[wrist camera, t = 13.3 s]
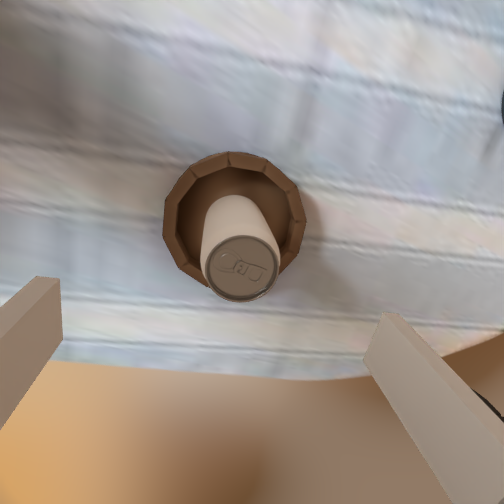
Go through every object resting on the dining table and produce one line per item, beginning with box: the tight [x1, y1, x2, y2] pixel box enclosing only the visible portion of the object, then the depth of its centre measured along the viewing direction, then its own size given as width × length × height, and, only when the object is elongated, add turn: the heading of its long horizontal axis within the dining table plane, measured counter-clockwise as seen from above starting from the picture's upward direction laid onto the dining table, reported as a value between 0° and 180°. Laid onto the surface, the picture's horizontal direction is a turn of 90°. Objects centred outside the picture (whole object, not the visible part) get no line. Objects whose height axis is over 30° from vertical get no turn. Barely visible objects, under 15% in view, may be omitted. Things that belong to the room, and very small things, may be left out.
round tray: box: [162, 151, 307, 288], centre depth 33 cm, size 15×15×3 cm
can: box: [200, 195, 280, 302], centre depth 28 cm, size 6×6×12 cm
